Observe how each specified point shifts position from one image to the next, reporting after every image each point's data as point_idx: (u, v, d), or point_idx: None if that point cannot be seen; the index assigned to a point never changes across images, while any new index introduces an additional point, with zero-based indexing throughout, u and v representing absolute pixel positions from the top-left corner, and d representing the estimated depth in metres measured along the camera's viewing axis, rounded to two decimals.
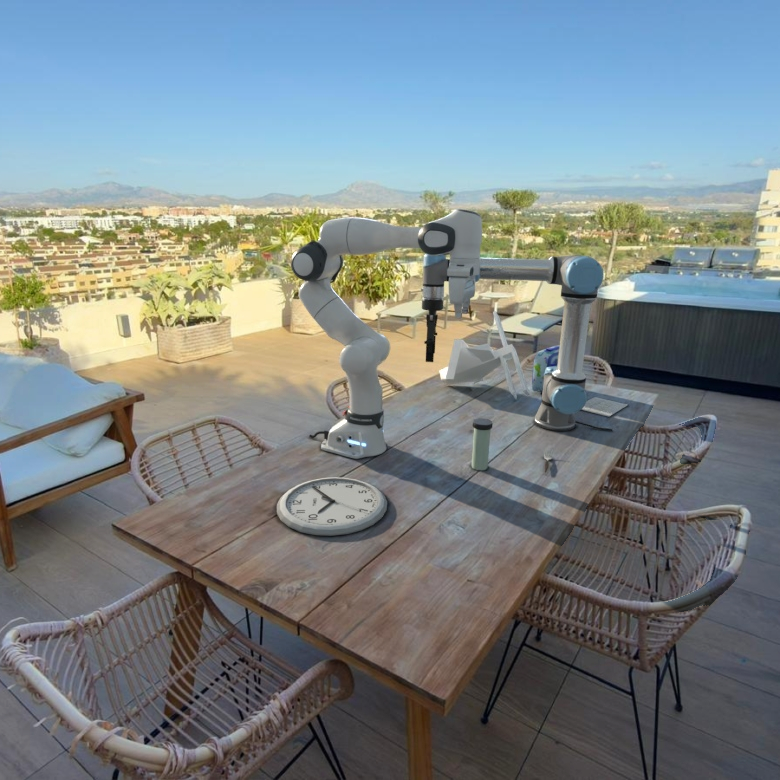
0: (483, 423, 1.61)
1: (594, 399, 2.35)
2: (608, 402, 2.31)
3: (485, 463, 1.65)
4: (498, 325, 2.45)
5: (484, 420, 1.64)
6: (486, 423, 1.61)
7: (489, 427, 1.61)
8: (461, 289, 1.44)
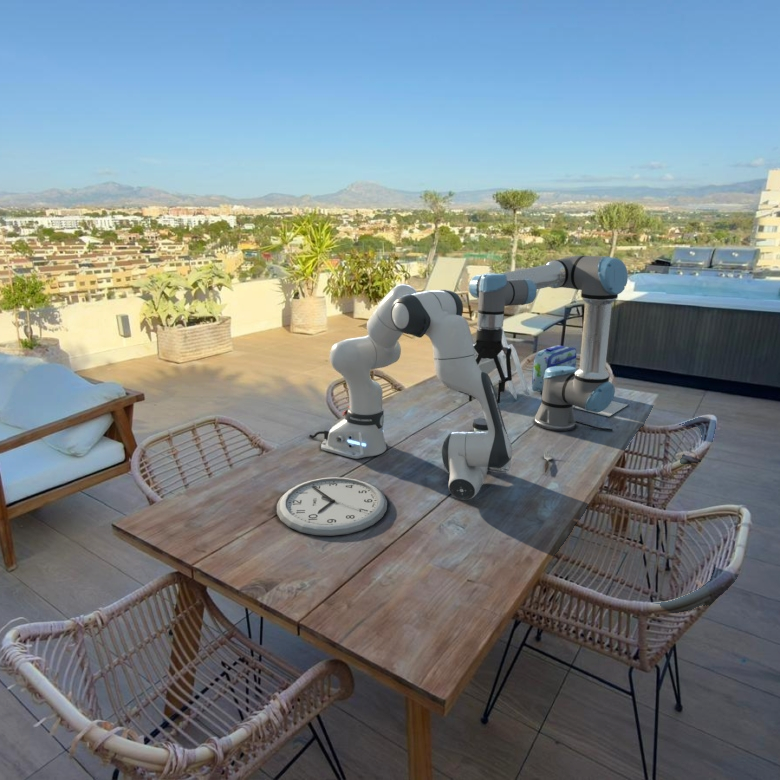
0: (483, 423, 1.61)
1: None
2: None
3: None
4: None
5: (484, 420, 1.64)
6: (486, 423, 1.61)
7: None
8: None
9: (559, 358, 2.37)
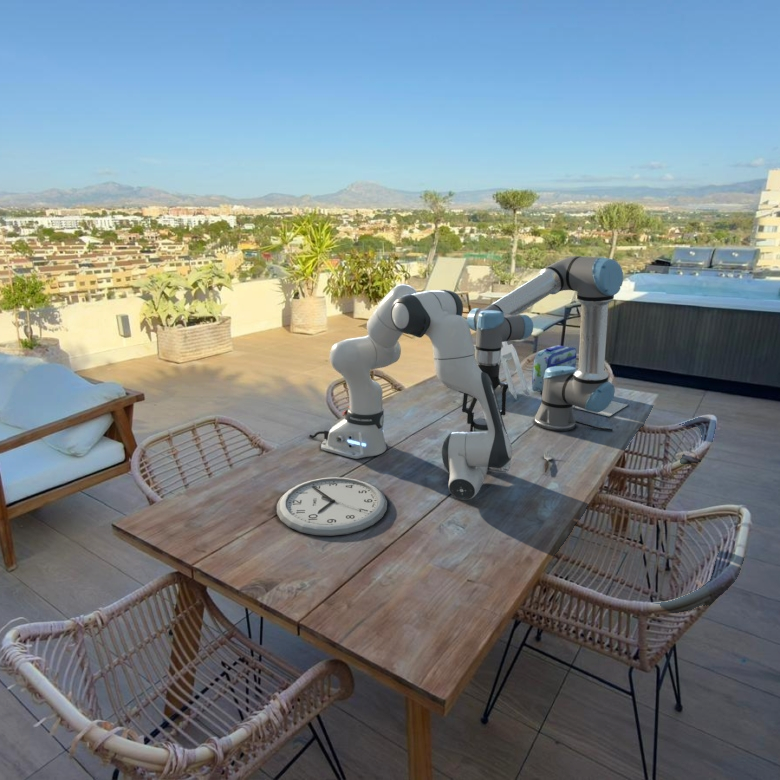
0: (483, 423, 1.61)
1: None
2: None
3: None
4: None
5: (484, 420, 1.64)
6: (486, 423, 1.61)
7: None
8: None
9: (559, 358, 2.37)
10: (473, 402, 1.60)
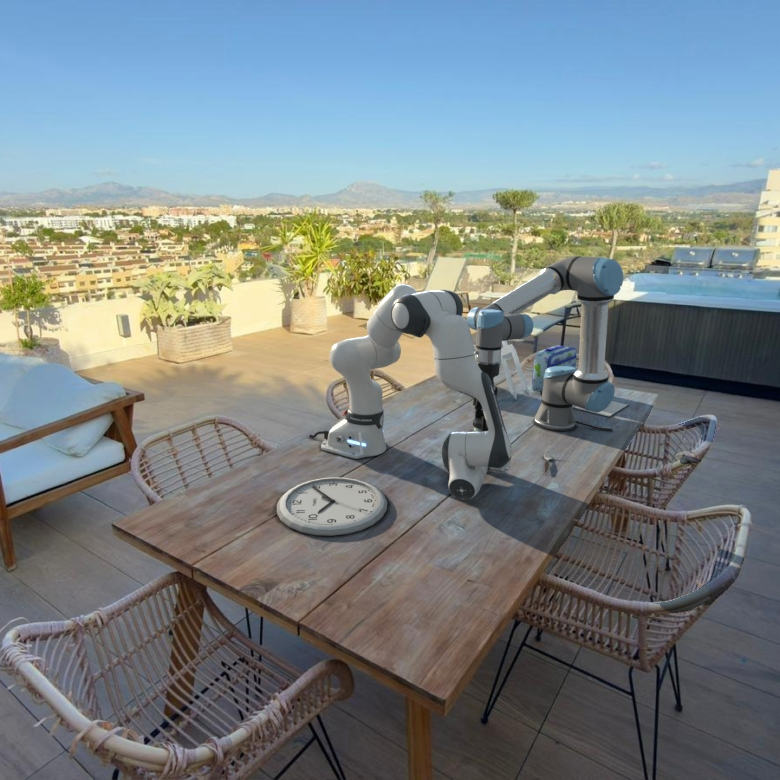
0: None
1: None
2: None
3: None
4: None
5: (478, 420, 1.63)
6: None
7: None
8: None
9: (559, 358, 2.37)
10: None
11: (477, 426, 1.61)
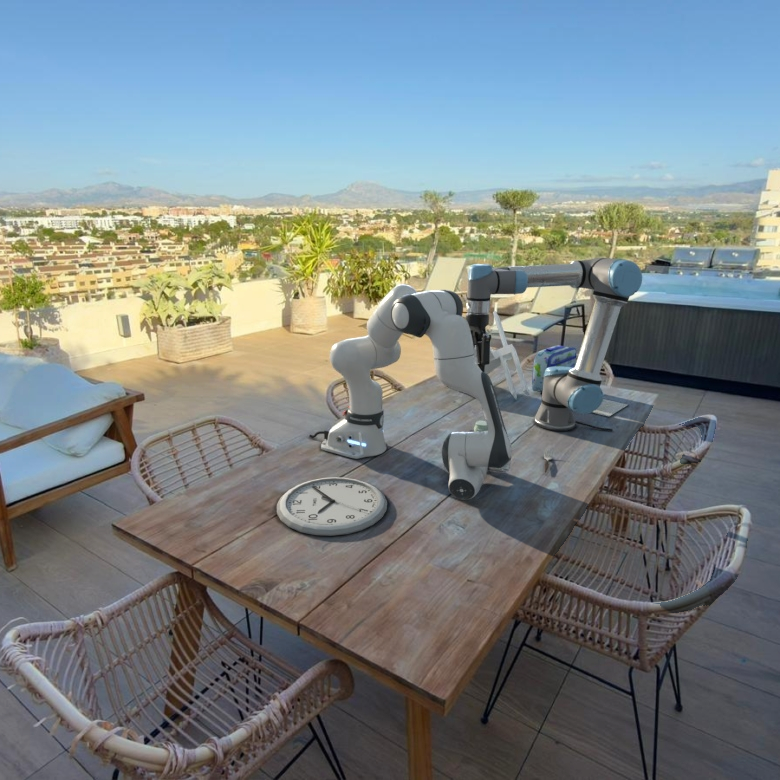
0: None
1: None
2: (608, 402, 2.31)
3: None
4: (498, 325, 2.45)
5: None
6: None
7: None
8: None
9: (559, 358, 2.37)
10: None
11: None
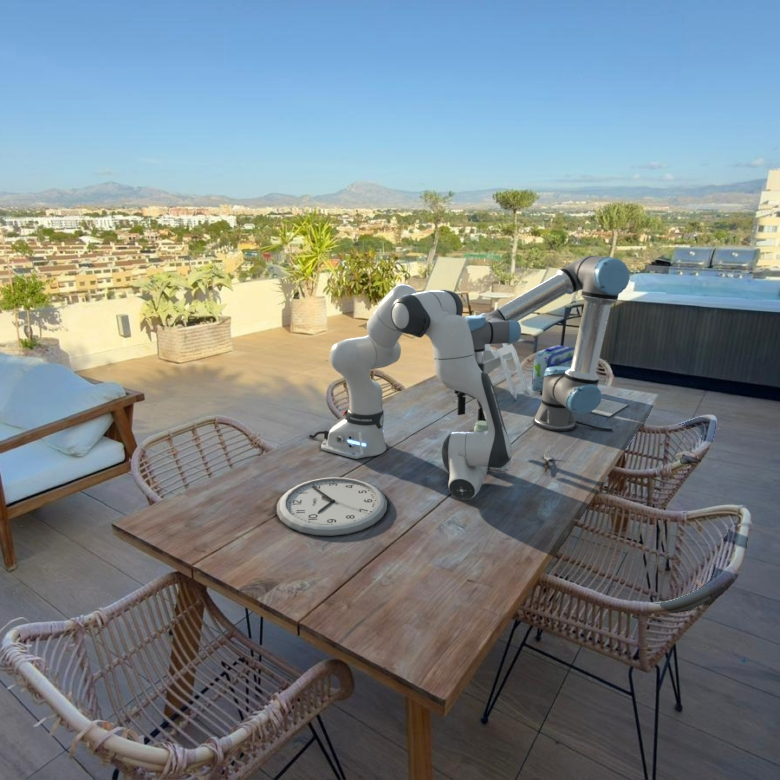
0: None
1: None
2: (608, 402, 2.31)
3: None
4: None
5: None
6: None
7: None
8: None
9: (559, 358, 2.37)
10: None
11: None
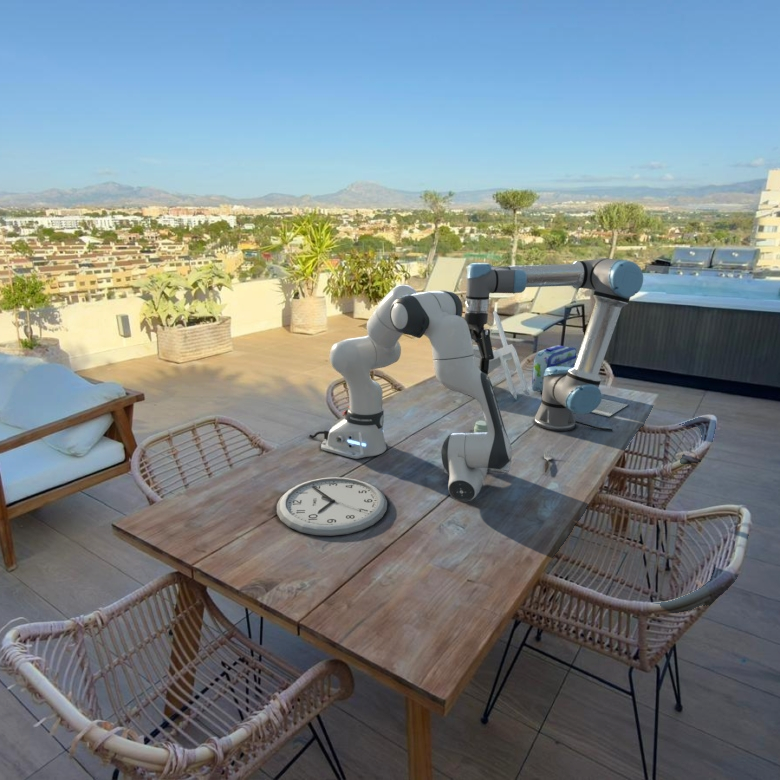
0: None
1: None
2: (608, 402, 2.31)
3: None
4: (498, 325, 2.45)
5: None
6: None
7: None
8: None
9: (559, 358, 2.37)
10: None
11: None
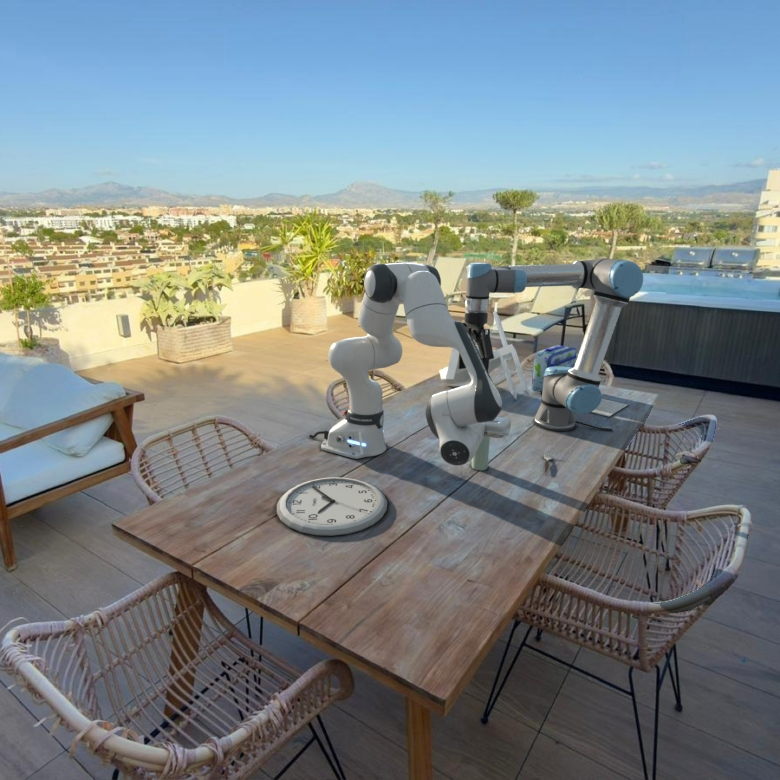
0: None
1: None
2: (608, 402, 2.31)
3: (485, 463, 1.65)
4: (498, 325, 2.45)
5: None
6: None
7: None
8: None
9: (559, 358, 2.37)
10: None
11: None
